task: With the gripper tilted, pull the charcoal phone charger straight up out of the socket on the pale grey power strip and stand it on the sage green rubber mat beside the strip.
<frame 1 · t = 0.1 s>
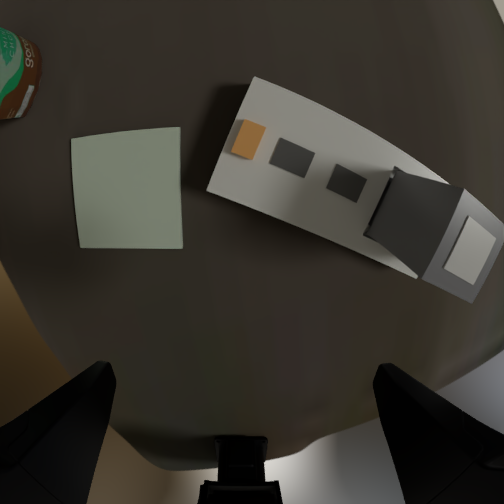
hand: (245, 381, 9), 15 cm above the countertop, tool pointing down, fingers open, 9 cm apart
food container: (25, 62, 16), on the countertop
charger: (398, 211, 21), point 1 cm above the countertop, touching power strip
power strip: (341, 181, 21), on the countertop
mat: (124, 190, 21), on the countertop
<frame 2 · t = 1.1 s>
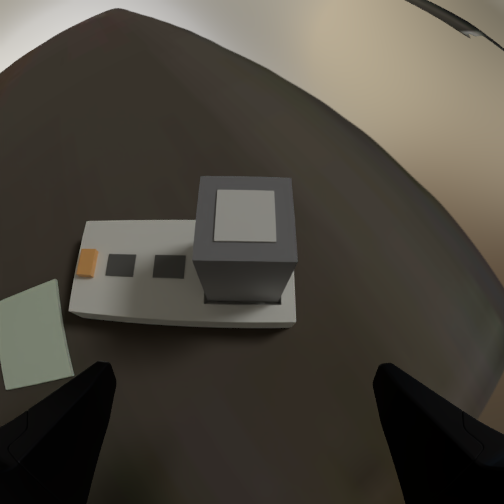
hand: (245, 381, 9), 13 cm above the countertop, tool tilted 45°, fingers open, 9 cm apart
charger: (243, 275, 23), point 1 cm above the countertop, touching power strip
power strip: (181, 277, 24), on the countertop
mat: (29, 337, 21), on the countertop
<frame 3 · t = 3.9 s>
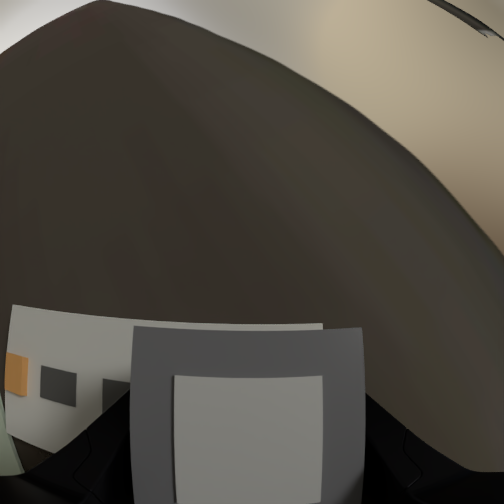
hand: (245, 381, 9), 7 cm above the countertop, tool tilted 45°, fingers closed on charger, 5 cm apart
charger: (243, 406, 13), point 1 cm above the countertop, touching gripper, power strip
power strip: (150, 398, 14), on the countertop
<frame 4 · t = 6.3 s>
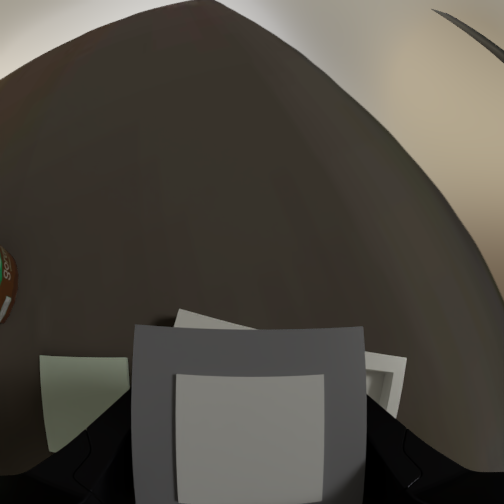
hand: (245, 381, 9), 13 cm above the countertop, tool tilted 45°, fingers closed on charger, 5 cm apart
food container: (6, 273, 23), on the countertop
charger: (243, 405, 13), point 8 cm above the countertop, touching gripper
power strip: (282, 392, 21), on the countertop
mat: (84, 409, 19), on the countertop
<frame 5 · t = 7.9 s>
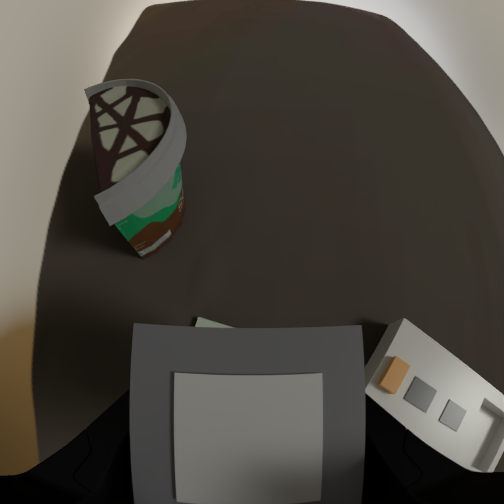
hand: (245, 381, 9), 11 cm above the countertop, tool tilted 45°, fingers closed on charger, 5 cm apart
food container: (162, 201, 25), on the countertop
charger: (243, 405, 13), point 6 cm above the countertop, touching gripper
power strip: (438, 416, 18), on the countertop
when the fingers open (7 cm above the countertop, at t = 9.1 s): charger drops 2 cm, resting on mat.
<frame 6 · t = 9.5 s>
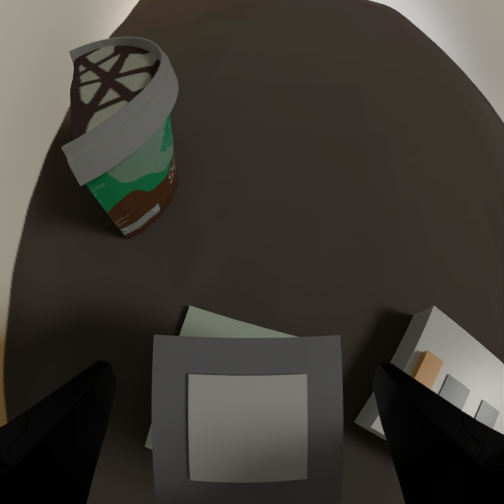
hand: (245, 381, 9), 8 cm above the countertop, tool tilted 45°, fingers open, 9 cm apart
food container: (152, 175, 21), on the countertop
charger: (243, 402, 15), resting on mat
power strip: (467, 420, 14), on the countertop
mat: (242, 402, 15), on the countertop
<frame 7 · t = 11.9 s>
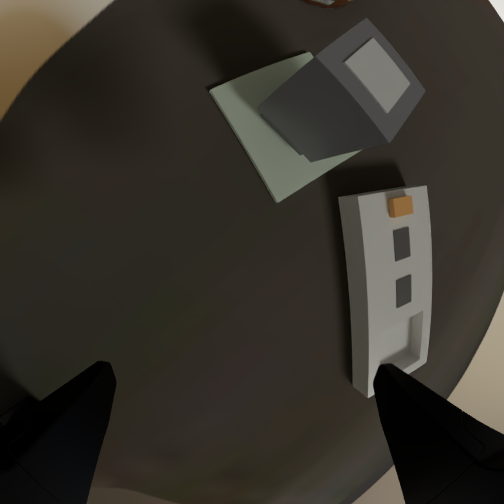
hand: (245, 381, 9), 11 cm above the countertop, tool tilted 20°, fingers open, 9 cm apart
charger: (297, 118, 20), resting on mat
power strip: (384, 290, 25), on the countertop
mat: (293, 119, 20), on the countertop
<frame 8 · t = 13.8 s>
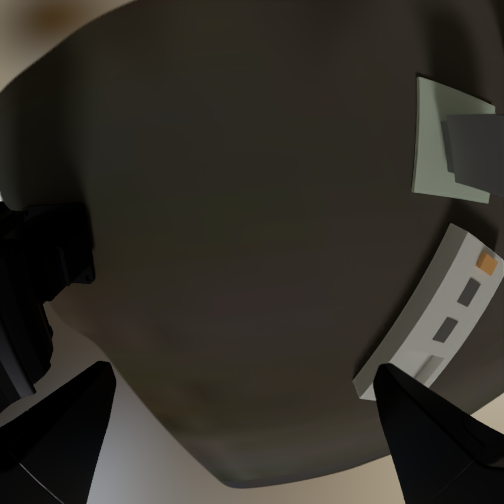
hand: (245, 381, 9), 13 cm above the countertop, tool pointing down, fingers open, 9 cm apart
charger: (461, 144, 18), resting on mat
power strip: (429, 320, 24), on the countertop
mat: (458, 143, 18), on the countertop
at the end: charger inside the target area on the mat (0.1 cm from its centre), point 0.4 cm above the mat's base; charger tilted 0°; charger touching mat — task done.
